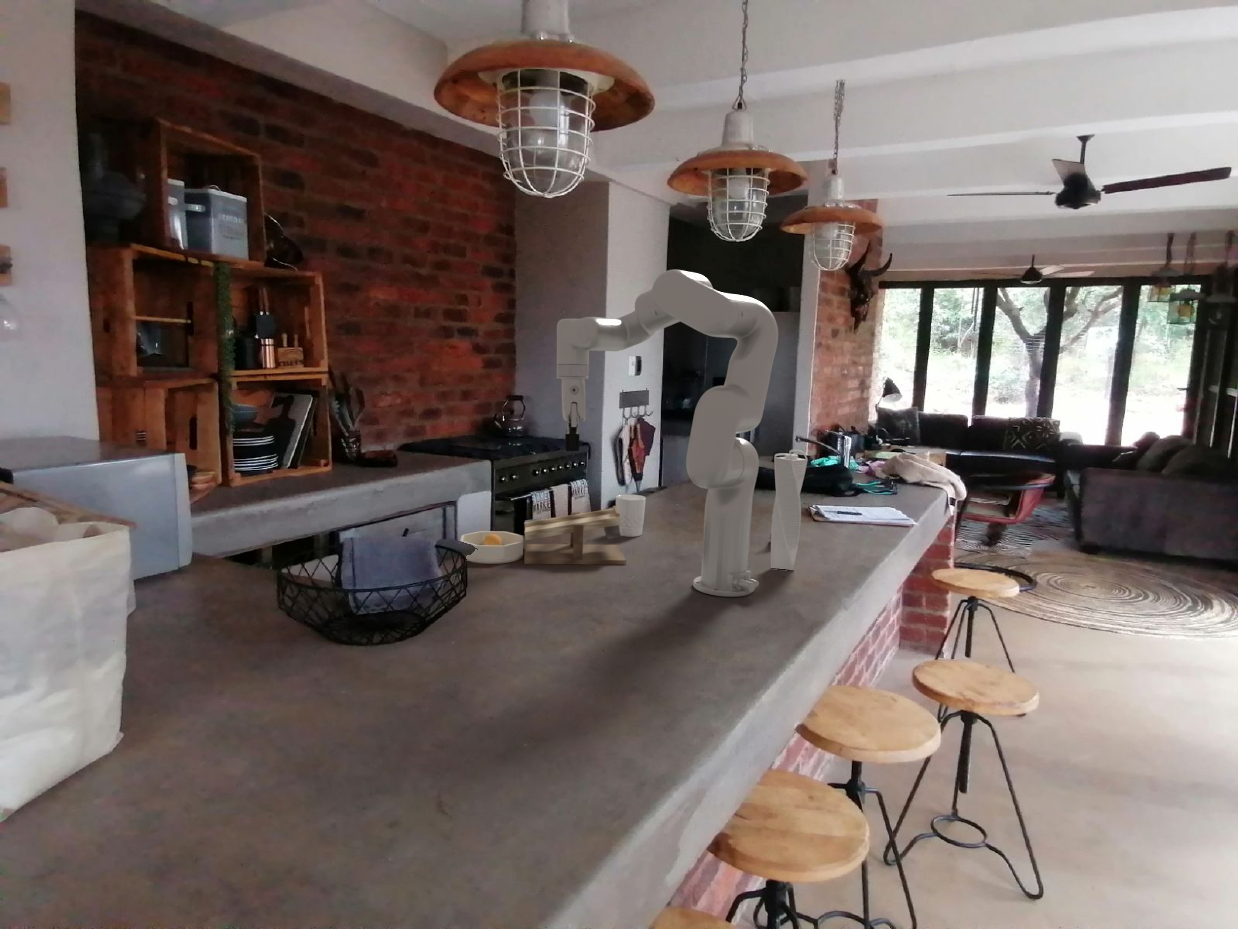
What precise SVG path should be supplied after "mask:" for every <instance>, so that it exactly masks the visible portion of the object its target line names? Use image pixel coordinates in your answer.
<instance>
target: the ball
mask: <svg viewBox="0 0 1238 929" xmlns="http://www.w3.org/2000/svg"><path fill="white" fill-rule="evenodd" d="M484 545H497V546H501V539H500V537H499V536H498V535H496V534H490V535H488V536H486V538H485V539H484Z"/></svg>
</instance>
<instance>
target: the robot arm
mask: <svg viewBox="0 0 1238 929" xmlns="http://www.w3.org/2000/svg"><path fill="white" fill-rule="evenodd" d="M680 322H681V323H683V324H685V325H686V326H688V327H690V328H692V329H693V330H696V331H697V332H699V333H702V334H703V335H707V336H709V337H712V338H713V337H715V338H731V339H735V340H736V341H737V343H736V347H735V348H734V350H733V352H732V354H731V356H730V359H729V362H728V365H727V373H726V377H725V381H724V384H723V385H716V386H713V387H711V388H709V389H707V390H706V391H705V392H704V393H703V394H702V395H701V396H700V398H699V399H698V402H697V403H696V406H695V410H694V414H693V419H692V424H691V425H692V426H691V428H690V429H691V430H690V434H689V439H688V440H689V441H688V446H687V451H686V458H685V465H686V468H685V469H686V472H687V475H688V477H689V479H690V481H691V482H692V483H693V484H694V485H695V486H697V487H699V488H702V489H704V490H707V493H706V497H705V505H704V517H703V518H704V521H703V533H702V534H703V536H702V537H703V538H702V552H701V553H702V556H701V571H700V576H697V577H695V578H694V579H693V581H692V586H693V588H694V589H695V590H697V591H699V592H701V593H703V594H708V595H709V596H710V595H711V596H717V597H725V598H726V597H728V598H729V597H730V598H735V597H744V596H748V595H751V594H752V593H753V592H755V590H756V588H758V586H759V584H760V583H759V581H758V580H757V579H753V578H752V570H749V569H748V568H749V565H748V564H749V554H750V553H749V552H750V537H751V536H750V535H751V524H752V523H751V522H752V521H751V520H752V512H753V511H752V510H753V498H754V491H755V486H756V483H757V477H758V473H759V467H760V466H759V465H760V460H759V454H758V452H757V449H756V448H755V447H754V445H753V444H752V443H751V442H750V441H748V440H746V439H745V438H742V437H741V438H740V437H737V434H741V433H742V434H743V433H746V432H750V431H752V430H754V429H756V428H757V427H758V426H759V425H760V423H761V421H762V418H763V414H764V409H765V404H766V400H767V394H768V389H769V385H770V380H771V372H772V367H773V363H774V360H775V359H774V358H775V356H776V353H777V352H776V351H777V347H778V341H779V327H778V323H777V320H776V318H775V316H774V314H773V313H772V311H771V310H770V309H769V308H768V307H767V306H766V305H765V304H764V303H763V302H761V301H760V300H757V299H755V298H753V297H750V296H747V295H742V294H741V295H740V294H734V293H728V292H721V291H718V290H716V289H714V288H713V285H712V283H711V282H710V280H709V279H708V278H707V277H705V276H704V275H703V274H700V273H697V272H693V271H686V270H683V269H682V270H681V269H677V268H676V269H669V270H666V271H663V272H662V273H660V274H659V275H658V276H657V278H656V279H655V280H654V282H653V285H652V288H651V289H649V290H647V291H645V292H643V293H640V294H639V295H638V296H637V297H636V299H635V302H634V311H631V312H630V313H627V314H625V315H623V316H620V317H617V318H613V317H602V316H601V317H600V316H586V317H582V318H562V319H560V320H558V322H557V324H556V379H558V380H561V412H562V418H563V420H564V421H565V434H564V436H565V438H564V444H565V445H564V446H565V447H564V449H565V451H566V452H580V432H579V431H580V427H579V426H580V421H581V422H585V421H586V419H587V418H586V417H587V416H586V385H585V384H586V383H585V380H589V378H590V377H589V376H590V351H593V352H596V351H597V352H619V351H623V350H626V349H629V348H632V347H634V346H637V345H639V344H642V343H644V342H646V341H647V340H649V339H650V338H651V337H652V336H654V335H655V334H656V332H658V331H661V330H663V329H665V328H668V327H670V326H672V325H674V324H677V323H680Z"/></svg>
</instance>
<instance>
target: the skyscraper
mask: <svg viewBox="0 0 1238 929" xmlns="http://www.w3.org/2000/svg"><path fill="white" fill-rule="evenodd" d="M793 452H797V453H801V454H802V455H803V456H804V457H805V458H800V457H799V455H798V454H796V453H793ZM778 456H779V457H778ZM773 458H774V460H773V461H774V479H775V480H774V481H775V482H774V483H775V496H774V497H775V498H774V502H773V509H772V518H771V528H770V529H771V531H770V537H771V539H770V569H771V568H780V569H790V570H794V571H795V568H794V567H795V563H796V558H797V552H798V547H799V542H800V541H799V540H800V535H801V534H800V533H801V532H800V531H801V522H802V521H801V520H802V508H801V507H802V505H801V490H802V487H803V484H804V483H803V482H804V480H805V474H806V470H807V466H808V461H809V460H808V457H807V455H806V452H805V451H803V450H801V449H797V448H793V449H790V450H789V453H786V452H785V453H784V452H783V453H782V452H780V453H775V454H774V457H773Z"/></svg>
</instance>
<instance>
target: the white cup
mask: <svg viewBox="0 0 1238 929" xmlns="http://www.w3.org/2000/svg"><path fill="white" fill-rule="evenodd" d="M646 498H647V497H646V496H645V495H644V496H643V495H640V494H630V493H629V494H618V495H615V506H616V508H617V510H618V511H619V513H620V519H621V525H619V529H620V536H621V537H626V538H627V537H629V538H630V537H632V538H635V537H641V536H642V535H643V526H644V521H645V520H644V519H645V510H646V509H645V508H646Z"/></svg>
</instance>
